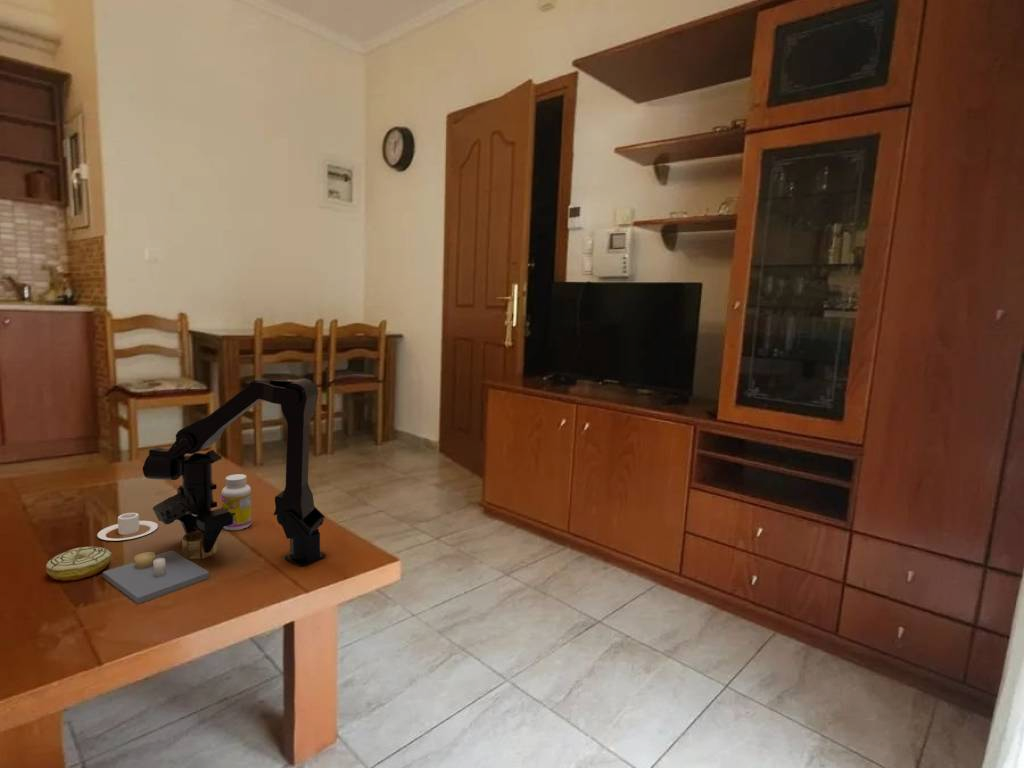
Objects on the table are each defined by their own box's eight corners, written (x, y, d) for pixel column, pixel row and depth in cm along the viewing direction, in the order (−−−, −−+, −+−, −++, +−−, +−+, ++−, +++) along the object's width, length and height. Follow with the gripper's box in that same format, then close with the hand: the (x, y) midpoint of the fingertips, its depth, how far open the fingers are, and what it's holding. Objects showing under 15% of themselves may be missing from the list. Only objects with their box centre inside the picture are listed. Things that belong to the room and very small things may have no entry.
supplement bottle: (216, 527, 137) (214, 477, 136) (240, 519, 143) (239, 471, 142) (234, 533, 134) (232, 482, 133) (257, 524, 140) (256, 475, 139)
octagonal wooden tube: (221, 551, 125) (221, 534, 124) (192, 561, 119) (191, 544, 119) (207, 543, 128) (206, 527, 128) (178, 553, 123) (177, 536, 122)
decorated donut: (116, 556, 121) (115, 539, 120) (106, 578, 112) (105, 560, 111) (55, 564, 116) (54, 547, 116) (40, 587, 107) (39, 569, 106)
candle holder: (127, 546, 126) (126, 528, 126) (84, 539, 128) (83, 522, 128) (169, 526, 138) (169, 510, 137) (129, 521, 140) (128, 504, 140)
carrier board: (209, 577, 113) (208, 558, 112) (138, 604, 102) (137, 582, 102) (172, 555, 122) (171, 537, 121) (103, 577, 111) (101, 557, 111)
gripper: (137, 480, 120) (141, 548, 122) (179, 500, 110) (182, 574, 112) (191, 469, 129) (193, 532, 131) (234, 486, 119) (236, 555, 121)
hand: (200, 548), depth 124 cm, fingers closed on octagonal wooden tube, 6 cm apart
